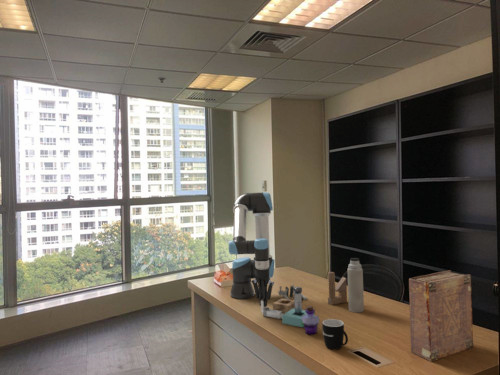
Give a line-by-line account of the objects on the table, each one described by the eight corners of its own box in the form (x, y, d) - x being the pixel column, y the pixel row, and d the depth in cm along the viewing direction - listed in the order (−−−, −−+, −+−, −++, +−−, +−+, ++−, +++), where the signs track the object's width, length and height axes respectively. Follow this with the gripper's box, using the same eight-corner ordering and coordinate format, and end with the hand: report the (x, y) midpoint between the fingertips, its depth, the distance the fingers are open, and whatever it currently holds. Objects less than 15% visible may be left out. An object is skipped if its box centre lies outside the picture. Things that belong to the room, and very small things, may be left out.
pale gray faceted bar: (263, 316, 198) (263, 309, 198) (266, 314, 201) (266, 307, 201) (286, 320, 191) (286, 313, 191) (289, 318, 194) (289, 311, 194)
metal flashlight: (292, 322, 188) (291, 288, 188) (296, 319, 192) (295, 286, 192) (300, 323, 186) (299, 289, 186) (304, 320, 190) (303, 287, 190)
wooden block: (347, 302, 217) (346, 271, 216) (331, 305, 213) (330, 273, 213) (343, 300, 220) (342, 270, 220) (327, 303, 216) (326, 272, 216)
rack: (273, 312, 204) (272, 303, 204) (281, 307, 212) (281, 298, 212) (289, 315, 198) (289, 305, 198) (298, 309, 207) (297, 300, 207)
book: (452, 339, 162) (450, 270, 162) (473, 347, 153) (471, 274, 153) (410, 352, 151) (408, 278, 150) (431, 362, 142) (428, 283, 142)
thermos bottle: (350, 307, 209) (348, 256, 209) (364, 308, 205) (363, 257, 205) (347, 311, 201) (345, 259, 201) (362, 313, 198) (361, 260, 198)
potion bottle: (298, 330, 177) (297, 305, 177) (314, 327, 180) (313, 302, 180) (307, 337, 169) (306, 310, 169) (323, 334, 172) (322, 308, 172)
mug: (318, 346, 160) (317, 322, 160) (332, 340, 165) (332, 317, 165) (340, 355, 150) (339, 330, 150) (355, 349, 155) (354, 325, 155)
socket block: (282, 323, 187) (282, 315, 187) (293, 316, 197) (292, 308, 197) (304, 327, 181) (304, 319, 181) (314, 319, 191) (314, 311, 191)
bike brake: (275, 296, 232) (294, 309, 214) (276, 285, 231) (295, 298, 213) (293, 292, 238) (313, 305, 221) (294, 282, 237) (314, 294, 220)
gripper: (248, 268, 200) (249, 312, 200) (269, 270, 193) (270, 316, 193) (255, 265, 207) (257, 308, 207) (276, 267, 199) (277, 312, 199)
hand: (263, 312), depth 200 cm, fingers closed
